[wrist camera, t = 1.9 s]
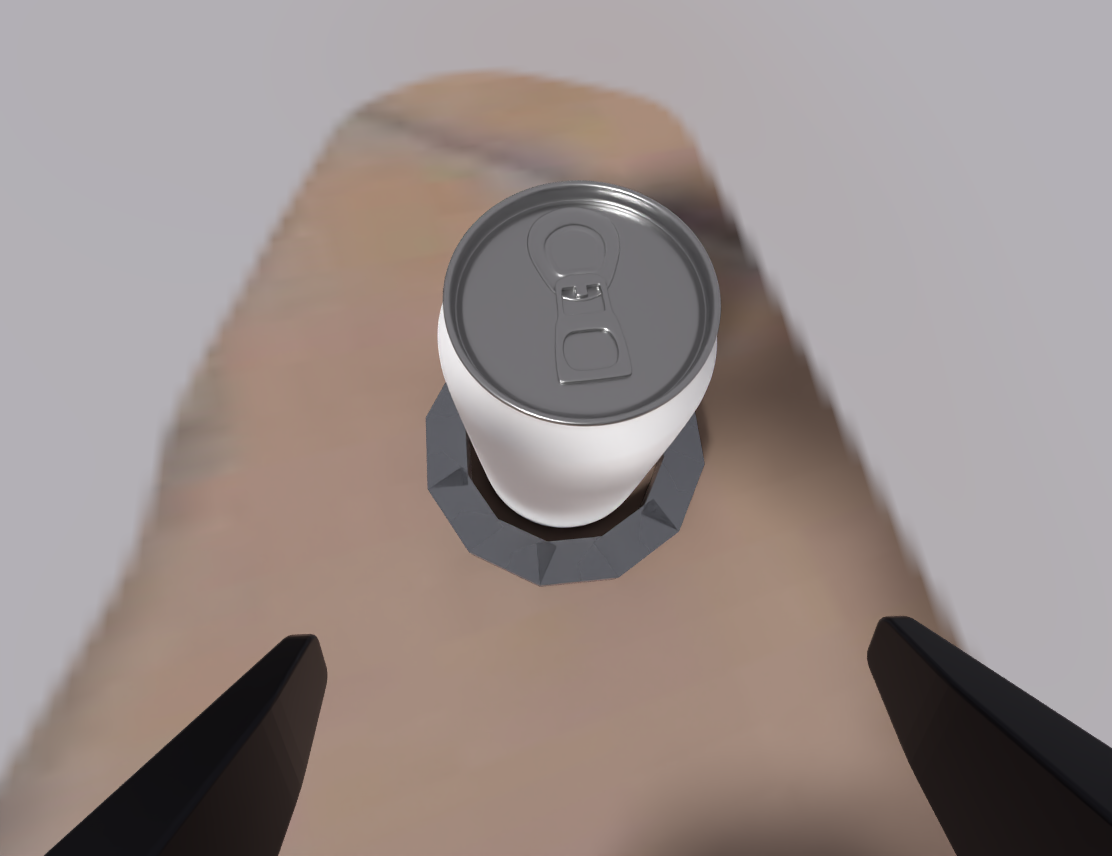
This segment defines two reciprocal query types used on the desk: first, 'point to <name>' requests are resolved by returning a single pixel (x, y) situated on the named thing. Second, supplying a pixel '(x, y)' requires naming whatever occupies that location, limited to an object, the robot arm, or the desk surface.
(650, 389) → the can
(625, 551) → the collar
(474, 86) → the desk surface
